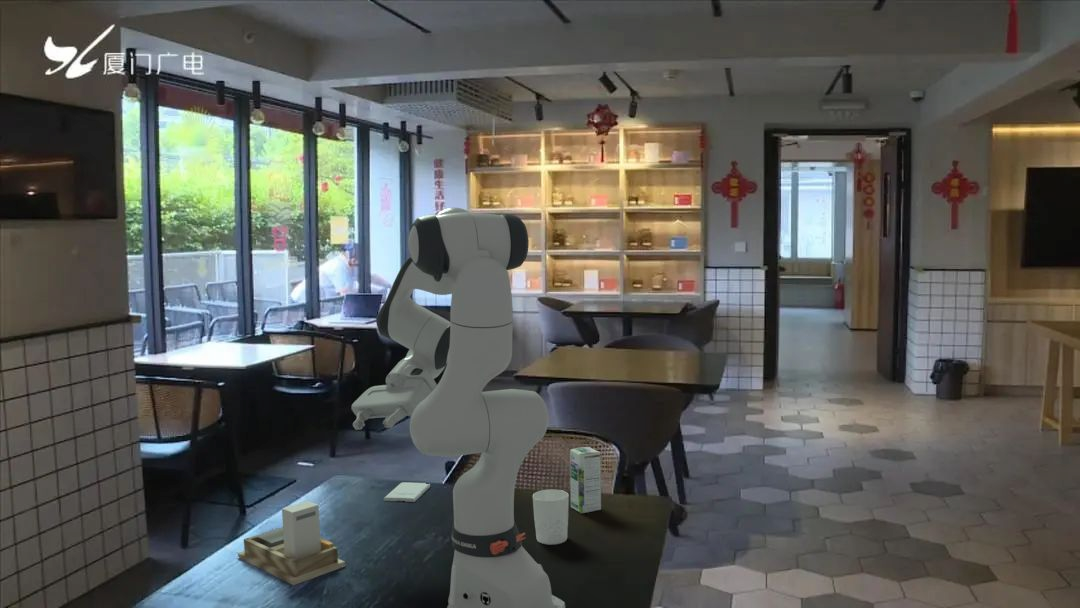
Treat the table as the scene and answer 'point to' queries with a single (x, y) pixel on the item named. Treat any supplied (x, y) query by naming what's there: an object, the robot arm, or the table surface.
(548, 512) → the white cup
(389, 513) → the table surface
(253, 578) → the table surface
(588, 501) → the syrup box
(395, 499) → the external hard drive
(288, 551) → the white carton
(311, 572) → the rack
